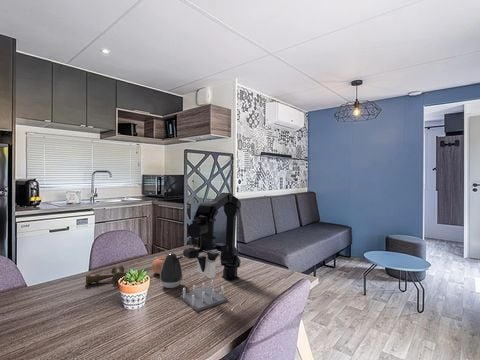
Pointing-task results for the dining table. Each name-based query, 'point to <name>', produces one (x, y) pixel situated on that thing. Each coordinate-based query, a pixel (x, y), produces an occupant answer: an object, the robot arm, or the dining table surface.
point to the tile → (207, 268)
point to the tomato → (157, 265)
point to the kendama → (107, 275)
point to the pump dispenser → (171, 271)
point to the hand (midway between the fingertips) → (205, 270)
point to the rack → (203, 297)
